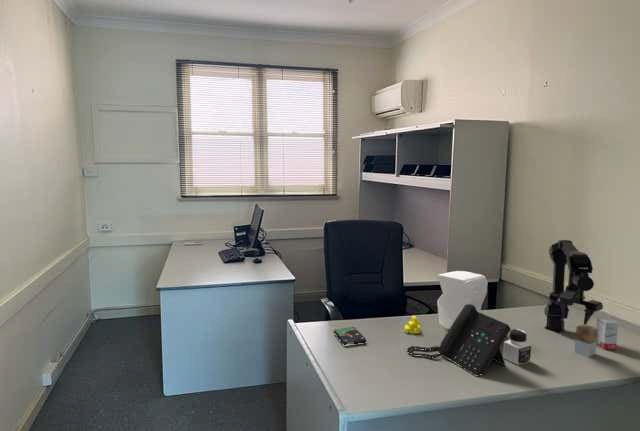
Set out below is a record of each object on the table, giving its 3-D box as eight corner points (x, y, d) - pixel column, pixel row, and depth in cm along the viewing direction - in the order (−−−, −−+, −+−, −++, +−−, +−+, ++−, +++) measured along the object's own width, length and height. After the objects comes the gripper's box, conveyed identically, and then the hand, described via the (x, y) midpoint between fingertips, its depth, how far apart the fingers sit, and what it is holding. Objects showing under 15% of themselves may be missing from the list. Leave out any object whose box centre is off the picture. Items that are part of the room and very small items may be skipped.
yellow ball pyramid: (401, 331, 200) (401, 314, 199) (415, 328, 204) (415, 312, 203) (408, 335, 195) (409, 319, 194) (423, 332, 198) (423, 316, 198)
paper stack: (427, 324, 208) (429, 272, 205) (468, 315, 221) (470, 266, 218) (461, 340, 190) (463, 283, 186) (502, 329, 202) (505, 276, 199)
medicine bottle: (518, 365, 166) (520, 335, 165) (502, 358, 172) (504, 329, 171) (530, 361, 169) (532, 332, 168) (514, 354, 176) (516, 326, 174)
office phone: (402, 351, 179) (404, 304, 176) (455, 340, 191) (457, 295, 188) (452, 384, 152) (454, 329, 150) (509, 368, 164) (513, 317, 162)
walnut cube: (575, 339, 178) (576, 326, 177) (582, 336, 181) (583, 324, 180) (589, 344, 173) (590, 331, 172) (596, 341, 176) (597, 328, 175)
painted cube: (574, 352, 178) (575, 339, 178) (581, 349, 181) (582, 336, 181) (588, 357, 174) (589, 344, 173) (595, 354, 177) (596, 341, 176)
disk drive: (366, 345, 185) (354, 332, 199) (366, 339, 185) (354, 326, 199) (344, 348, 182) (332, 334, 196) (344, 342, 182) (333, 328, 196)
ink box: (616, 350, 180) (618, 323, 179) (603, 349, 181) (605, 322, 180) (607, 342, 188) (609, 316, 187) (594, 341, 189) (597, 315, 188)
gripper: (542, 281, 179) (540, 317, 181) (590, 292, 164) (587, 332, 166) (557, 277, 185) (555, 313, 187) (605, 288, 170) (601, 326, 172)
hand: (573, 320), depth 178 cm, fingers open, 9 cm apart
